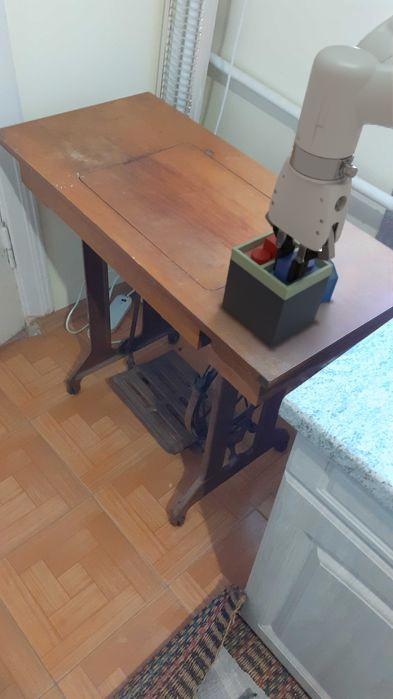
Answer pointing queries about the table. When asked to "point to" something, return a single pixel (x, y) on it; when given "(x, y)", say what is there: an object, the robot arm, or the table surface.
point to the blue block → (288, 266)
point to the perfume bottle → (330, 285)
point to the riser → (269, 306)
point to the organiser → (266, 272)
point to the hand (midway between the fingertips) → (288, 272)
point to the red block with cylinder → (265, 251)
